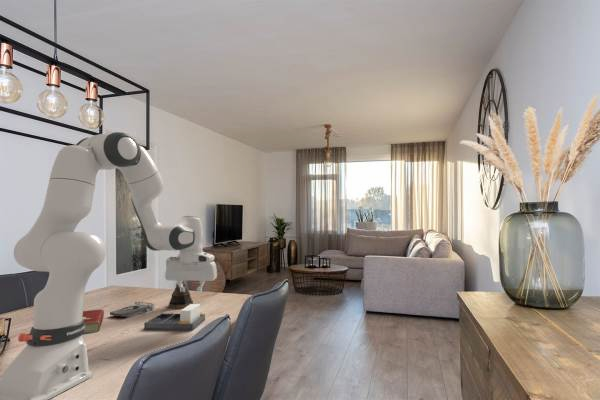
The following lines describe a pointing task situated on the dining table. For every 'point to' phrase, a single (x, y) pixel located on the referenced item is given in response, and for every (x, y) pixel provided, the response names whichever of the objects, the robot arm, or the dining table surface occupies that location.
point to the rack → (172, 322)
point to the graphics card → (134, 309)
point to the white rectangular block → (190, 313)
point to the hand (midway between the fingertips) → (191, 291)
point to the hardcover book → (93, 320)
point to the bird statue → (180, 297)
